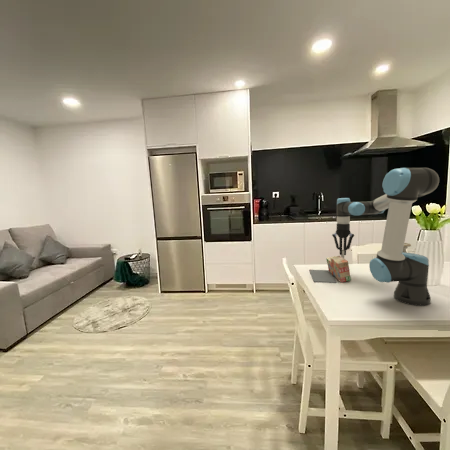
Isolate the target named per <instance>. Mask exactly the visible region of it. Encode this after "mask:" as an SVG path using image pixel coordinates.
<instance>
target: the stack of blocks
mask: <svg viewBox="0 0 450 450" xmlns="http://www.w3.org/2000/svg"><path fill="white" fill-rule="evenodd" d="M325 260H326V262H327V263H326V264H327V267H328V269H327V270H329V271H330V272H331V274H332V275H333V277H334V278H335V279H336V280H338V281H339V282H340V283H345V282H350V281H352V278H351V273H350V272H351V271H350V265H349V261H348V260H347V259H346V258H345V257H344V258H343V257H341V255H337V256H336V255H334V256H329V257H326V259H325Z"/></svg>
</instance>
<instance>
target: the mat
mask: <svg viewBox="0 0 450 450" xmlns="http://www.w3.org/2000/svg"><path fill="white" fill-rule="evenodd" d="M308 271H309V274H310V276H311V278H312V281H313V282H314V283H323V284H324V283H329V284H337V279H336V278H335V276H334V275H333V274H332V273H331V272H330V271H329V269H309V270H308Z"/></svg>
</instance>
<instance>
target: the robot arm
mask: <svg viewBox="0 0 450 450" xmlns="http://www.w3.org/2000/svg"><path fill="white" fill-rule="evenodd" d="M439 183H440V177H439V174H438V172H436V171H435V170H434V169H432V168H429V167H400V168H394V169H391V170H390V171H389V172H386V174H385V176H384V178H383V181H382V186H381V187H382V189H383V193H384V194H383V195H381V196H379V197H377V198H375V199H373V200H371V201H351V199H350V197H341V198H339V197H338V198H337V199H336V230H335V232H334V233H332V235H331V236H332V237H333V240H334V244H335V247H336V249H337V250H339V256H341V257H343V258H344V259H345V256H346V255H347V251H348V250H350V248H351V245H352V240H353V238H354V237H355V234H354V233H352V232H351V229H350V228H351V225H350V222H351V220H350V219H351V216H362V215H378V214H384V213H385V211H386V210H387V215H386V221H385V226H384V233H383V238H382V245H381V249H380V250H378V251H377V253H376V257H374V258H372V259H370V261H369V266H368V267H369V272H370V274H371V276H372V277H373V278H374V279H375V280H376V281H377V282H380V283H388V284H389V283H393V282H397V283H398V284H397V285H396V287H395V289H394V292H393V298H394V299H395V300H397V302H400V303H404V304H408V305H411V306H419V307H420V306H428V305H430V304H431V302H432V301H431V298H432V297H431V296H430V292H429V289H428V276H429V267H430V264H429V262H430V261H429V258H428V257H427V256H426V255H422V254H417V253H412V252H407V253H405V252H403V247H404V243H406V242H405V241H406V236H407V230H408V226H409V225H408V224H409V223H410V216H411V212H412V211H411V210H412V205H413V203H415V202H416V201H418V198H421V197H424V196H426V195H429V194H431V193H433V192H434V191H435V190H436V189H437V188H438V186H439V185H440V184H439ZM337 237H338V238H339V239H337ZM347 239H348V240H347ZM338 241H339V242H338Z"/></svg>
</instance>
